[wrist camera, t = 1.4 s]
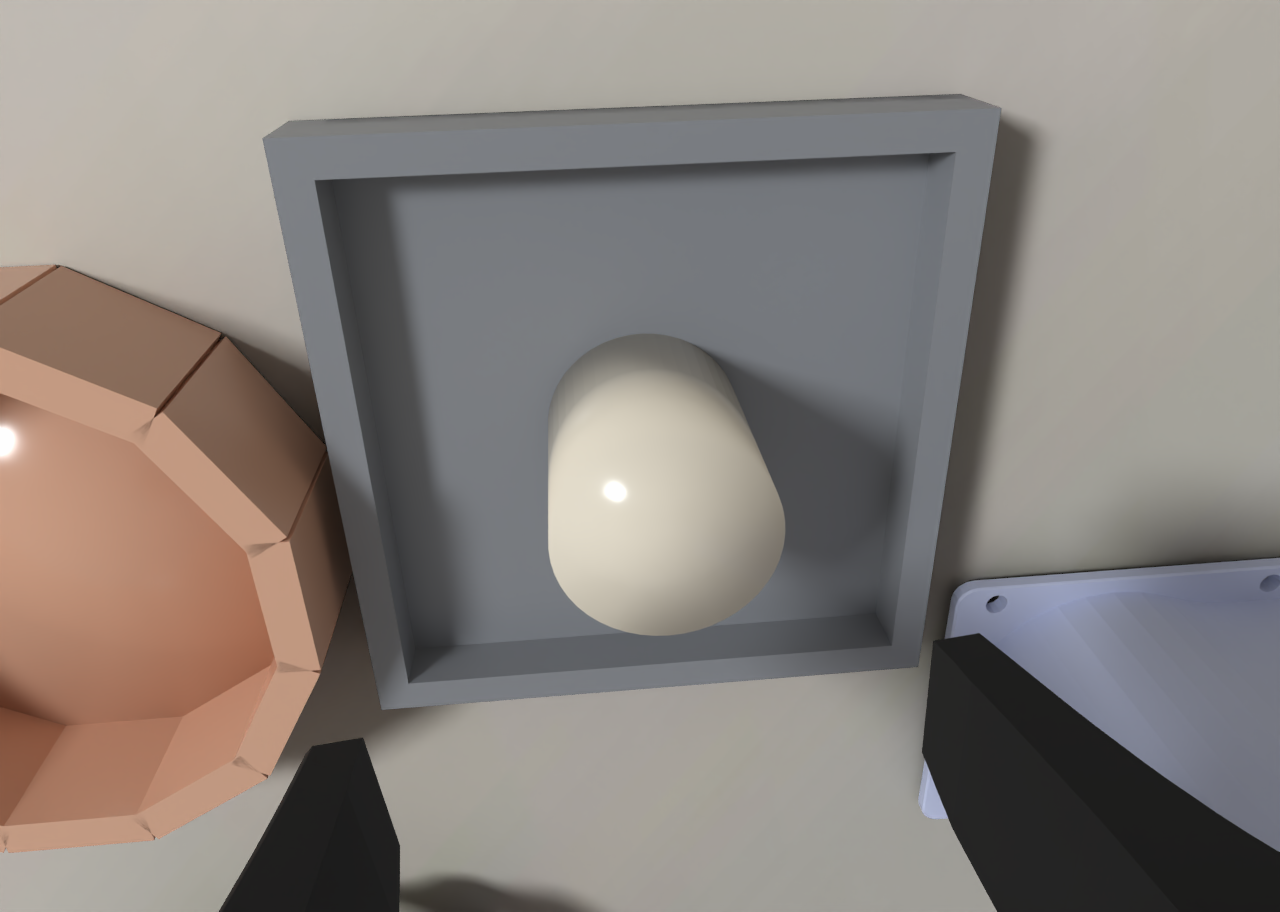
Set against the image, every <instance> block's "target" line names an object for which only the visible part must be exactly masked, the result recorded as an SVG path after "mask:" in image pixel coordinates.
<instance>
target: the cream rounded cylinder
mask: <svg viewBox="0 0 1280 912" xmlns="http://www.w3.org/2000/svg"><path fill="white" fill-rule="evenodd" d="M784 540H785V517H784V511H783V506H782V504H781V501H780V498H779V495H778V493H777V490H776V488H775V486H774V483H773V481H772V478H771V476H770V474H769V471H768V469H767V467H766V464H765V462H764V460H763V457H762V455H761V453H760V450H759V448H758V446H757V443H756V441H755V439H754V436H753V434H752V432H751V429H750V427H749V425H748V422H747V420H746V417H745V415H744V413H743V410H742V408H741V406H740V403H739V401H738V399H737V396H736V394H735V392H734V389H733V387H732V385H731V383H730V381H729V379H728V377H727V375H726V374H725V372H724V371H723V370H722V368H721V367H720V365H719V364H718V363H717V362H716V361H715V360H714V359H713V358H712V357H711V356H709V355H708V354H707V353H705V352H704V351H703V350H702V349H700V348H698V347H696V346H695V345H693V344H691V343H689V342H686V341H684V340H681V339H679V338H675V337H671V336H667V335H660V334H634V335H627V336H623V337H619V338H615V339H612V340H610V341H607V342H604V343H602V344H600V345H598V346H597V347H595V348H593V349H591V350H590V351H588V352H587V353H586V354H584V355H583V356H581V357H580V358H579V359H578V360H577V361H576V362H575V363H574V364H573V365H572V366H571V367H570V368H569V369H568V370H567V372H566V373H565V374H564V376H563V377H562V379H561V380H560V382H559V383H558V385H557V387H556V390H555V392H554V394H553V397H552V400H551V404H550V408H549V415H548V551H549V557H550V563H551V566H552V569H553V572H554V575H555V577H556V579H557V581H558V583H559V585H560V586H561V588H562V589H563V591H564V592H565V593H566V595H567V596H568V597H569V599H570V600H571V601H572V602H573V603H574V604H575V605H576V606H577V607H578V608H580V609H581V610H582V611H583V612H585V613H586V614H587V615H589V616H590V617H592V618H594V619H595V620H597V621H599V622H601V623H603V624H605V625H607V626H610V627H612V628H615V629H618V630H621V631H624V632H629V633H634V634H639V635H650V636H669V635H677V634H684V633H688V632H693V631H697V630H700V629H703V628H706V627H709V626H712V625H714V624H716V623H718V622H720V621H722V620H725V619H726V618H728V617H730V616H731V615H733V614H735V613H736V612H738V611H739V610H740V609H742V608H743V607H744V606H746V605H747V604H748V603H749V602H750V601H751V600H752V599H753V598H754V597H755V596H756V595H758V594H759V592H760V591H761V590H762V589H763V587H764V586H765V585H766V584H767V582H768V581H769V579H770V578H771V576H772V574H773V573H774V571H775V569H776V567H777V564H778V562H779V560H780V557H781V554H782V550H783V547H784Z"/></svg>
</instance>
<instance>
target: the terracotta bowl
mask: <svg viewBox="0 0 1280 912" xmlns="http://www.w3.org/2000/svg"><path fill="white" fill-rule="evenodd" d="M220 335H221V333H220V332H218V331H215V330H213V329H210V328H208V327H206V326H203V325H201V324H199V323H196V322H194V321H191V320H189V319H187V318H184V317H182V316H179V315H177V314H175V313H172V312H170V311H168V310H165V309H163V308H160V307H158V306H156V305H153V304H151V303H149V302H146V301H144V300H141V299H139V298H137V297H134V296H132V295H130V294H127V293H125V292H122V291H120V290H118V289H115V288H113V287H110V286H108V285H106V284H103V283H101V282H99V281H96V280H94V279H91V278H89V277H87V276H84V275H82V274H80V273H77V272H75V271H72V270H70V269H68V268H65V267H63V266H60V267H59V268H56V265H40V266H20V267H0V852H3V853H4V851H5V849H6V848H7V850H8V852H9V853H14V852H26V851H37V850H48V849H60V848H71V847H83V846H94V845H106V844H117V843H128V842H140V841H151V840H155V837H157V838H158V839H160V838H161V837H163V836H165V835H167V834H169V833H170V832H172V831H174V830H176V829H177V828H179V827H181V826H183V825H185V824H186V823H188V822H190V821H192V820H194V819H195V818H197V817H199V816H201V815H203V814H204V813H206V812H208V811H210V810H212V809H213V808H215V807H217V806H219V805H221V804H222V803H224V802H226V801H228V800H230V799H231V798H233V797H235V796H237V795H239V794H240V793H242V792H244V791H246V790H248V789H249V788H251V787H253V786H255V785H257V784H258V783H260V782H262V781H264V780H266V779H267V778H268V775H271V773H272V771H273V769H274V767H275V765H276V763H277V761H278V759H279V757H280V755H281V753H282V751H283V749H284V747H285V745H286V743H287V741H288V739H289V737H290V735H291V732H292V730H293V728H294V726H295V724H296V722H297V720H298V718H299V716H300V714H301V712H302V710H303V708H304V706H305V704H306V702H307V700H308V698H309V696H310V694H311V692H312V690H313V688H314V686H315V684H316V682H317V680H318V678H319V675H320V673H321V670H322V667H323V664H324V660H325V657H326V654H327V651H328V648H329V644H330V641H331V638H332V635H333V632H334V628H335V625H336V622H337V619H338V616H339V613H340V609H341V606H342V603H343V600H344V597H345V593H346V590H347V587H348V584H349V581H350V577H351V574H352V566H351V561H350V556H349V551H348V547H347V542H346V537H345V532H344V527H343V523H342V518H341V513H340V508H339V503H338V499H337V494H336V489H335V484H334V479H333V475H332V470H331V465H330V460H329V455H328V451H326V452H325V450H326V448H327V447H326V446H325V445H324V444H323V442H322V441H321V440H320V439H319V438H318V437H317V436H316V435H315V434H314V433H313V431H312V430H311V429H310V428H309V427H308V426H307V425H306V424H305V423H304V422H303V420H302V419H301V418H300V417H299V416H298V415H297V414H296V413H295V412H294V411H293V409H292V408H291V407H290V406H289V405H288V404H287V403H286V402H285V401H284V400H283V398H282V397H281V396H280V395H279V394H278V393H277V392H276V391H275V390H274V389H273V388H272V386H271V385H270V384H269V383H268V382H267V381H266V380H265V379H264V378H263V377H262V375H261V374H260V373H259V372H258V371H257V370H256V369H255V368H254V367H253V366H252V364H251V363H250V362H249V361H248V360H247V359H246V358H245V357H244V356H243V355H242V353H241V352H240V351H239V350H238V349H237V348H236V347H235V346H234V345H233V344H232V342H231V341H230V340H229V339H228V338H227V337H224V338H223V339H221V340H220V341H219V338H220Z"/></svg>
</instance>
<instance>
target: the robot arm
mask: <svg viewBox="0 0 1280 912" xmlns="http://www.w3.org/2000/svg"><path fill="white" fill-rule="evenodd" d="M1267 576H1268V577H1267ZM1266 577H1267V578H1266ZM1265 578H1266V579H1265ZM1263 579H1265V580H1263ZM998 595H999V597H998V599H996V600H995V601H994V602H991V603H987V602H988V600H989V599H991V598H992V597H994V596H998ZM922 753H923V756H924V758H925V762H924V768H923V774H922V780H921V786H920V792H919V799H918V801H919V805H920V808H921V810H922V812H923V814H924V815H925V816H926V817H928V818H931V819H944V818H948V819H949V821H950V823H951V826H952V828H953V830H954V832H955V834H956V836H957V838H958V840H959V841H960V843H961V845H962V847H963V849H964V851H965V853H966V855H967V856H968V858H969V860H970V862H971V864H972V866H973V868H974V870H975V871H976V873H977V875H978V877H979V879H980V881H981V883H982V884H983V886H984V888H985V890H986V892H987V894H988V895H989V897H990V899H991V901H992V903H993V905H994V906H995V908H996V910H997V912H1280V558H1270V559H1257V560H1244V561H1230V562H1217V563H1203V564H1190V565H1176V566H1163V567H1149V568H1136V569H1123V570H1109V571H1096V572H1082V573H1069V574H1055V575H1042V576H1029V577H1015V578H1002V579H988V580H975V581H970V582H966V583H964V584H962V585H961V586H959V587H958V588H957V589H956V590H955V591H954V593H953V595H952V598H951V603H950V609H949V615H948V621H947V627H946V633H945V639H941V640H935V641H933V650H932V660H931V670H930V679H929V689H928V699H927V709H926V718H925V728H924V738H923V748H922ZM399 896H400V845H399V842H398V839H397V836H396V833H395V830H394V827H393V824H392V821H391V818H390V815H389V812H388V810H387V807H386V804H385V801H384V798H383V795H382V792H381V789H380V786H379V783H378V780H377V777H376V774H375V771H374V769H373V766H372V763H371V760H370V757H369V754H368V751H367V748H366V745H365V742H364V739H363V738H358V739H353V740H347V741H341V742H335V743H329V744H323V745H317V746H312V747H311V749H310V750H309V751H308V752H307V753H306V754H305V756H304V758H303V760H302V762H301V764H300V766H299V768H298V770H297V772H296V774H295V776H294V778H293V780H292V782H291V783H290V785H289V787H288V789H287V791H286V793H285V795H284V797H283V799H282V801H281V803H280V805H279V806H278V808H277V810H276V812H275V814H274V816H273V818H272V819H271V821H270V823H269V825H268V827H267V829H266V830H265V832H264V834H263V836H262V838H261V839H260V841H259V843H258V845H257V847H256V849H255V850H254V852H253V854H252V856H251V858H250V859H249V861H248V863H247V864H246V866H245V868H244V869H243V871H242V873H241V875H240V876H239V878H238V880H237V881H236V883H235V885H234V887H233V888H232V890H231V892H230V893H229V895H228V897H227V898H226V900H225V902H224V904H223V905H222V907H221V909H220V910H219V912H399Z"/></svg>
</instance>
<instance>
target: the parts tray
mask: <svg viewBox="0 0 1280 912" xmlns="http://www.w3.org/2000/svg"><path fill="white" fill-rule="evenodd" d="M1000 114H1001V108H1000V107H997V106H994V105H991V104H988V103H985V102H982V101H980V100H977V99H974V98H971V97H968V96H965V95H962V94H949V95H924V96H899V97H874V98H849V99H824V100H799V101H774V102H749V103H724V104H699V105H674V106H649V107H624V108H599V109H574V110H549V111H524V112H499V113H474V114H449V115H424V116H399V117H374V118H349V119H324V120H299V121H288V122H287V123H285V124H284V125H282V126H281V127H279V128H278V129H276V130H275V131H273V132H271V133H270V134H268V135H267V136H265V137H264V138H263V143H264V148H265V153H266V157H267V162H268V167H269V172H270V177H271V182H272V186H273V191H274V196H275V201H276V206H277V210H278V215H279V220H280V225H281V230H282V234H283V239H284V244H285V249H286V254H287V258H288V263H289V268H290V273H291V278H292V282H293V287H294V292H295V297H296V302H297V306H298V311H299V316H300V321H301V326H302V330H303V335H304V340H305V345H306V350H307V354H308V359H309V364H310V369H311V374H312V378H313V383H314V388H315V393H316V398H317V402H318V407H319V412H320V417H321V422H322V427H323V431H324V436H325V441H326V446H327V451H328V455H329V460H330V465H331V470H332V475H333V479H334V484H335V489H336V494H337V499H338V503H339V508H340V513H341V518H342V523H343V527H344V532H345V537H346V542H347V547H348V551H349V556H350V561H351V566H352V571H353V575H354V580H355V585H356V590H357V595H358V599H359V604H360V609H361V614H362V619H363V623H364V628H365V633H366V638H367V643H368V647H369V652H370V657H371V662H372V667H373V672H374V676H375V681H376V686H377V691H378V696H379V700H380V705H381V710H387V709H399V708H412V707H424V706H436V705H449V704H461V703H474V702H486V701H499V700H511V699H524V698H536V697H549V696H561V695H574V694H586V693H599V692H611V691H623V690H636V689H648V688H661V687H673V686H686V685H698V684H711V683H723V682H736V681H748V680H761V679H773V678H786V677H798V676H811V675H823V674H835V673H848V672H860V671H873V670H885V669H898V668H910V667H918V664H919V658H920V651H921V644H922V637H923V631H924V624H925V617H926V611H927V604H928V597H929V590H930V584H931V577H932V570H933V564H934V557H935V550H936V543H937V537H938V530H939V523H940V517H941V510H942V503H943V496H944V490H945V483H946V476H947V470H948V463H949V456H950V449H951V443H952V436H953V429H954V423H955V416H956V409H957V402H958V396H959V389H960V382H961V376H962V369H963V362H964V355H965V349H966V342H967V335H968V329H969V322H970V315H971V308H972V302H973V295H974V288H975V282H976V275H977V268H978V261H979V255H980V248H981V241H982V235H983V228H984V221H985V214H986V208H987V201H988V194H989V188H990V181H991V174H992V167H993V161H994V154H995V147H996V141H997V134H998V127H999V120H1000ZM634 334H660V335H667V336H671V337H675V338H679V339H681V340H684V341H686V342H689V343H691V344H693V345H695V346H696V347H698V348H700V349H702V350H703V351H704V352H705V353H707V354H708V355H709V356H711V357H712V358H713V359H714V360H715V361H716V362H717V363H718V364H719V365H720V367H721V368H722V370H723V371H724V372H725V374H726V375H727V377H728V379H729V381H730V383H731V385H732V387H733V389H734V392H735V394H736V396H737V399H738V401H739V403H740V406H741V408H742V410H743V413H744V415H745V417H746V420H747V422H748V425H749V427H750V429H751V432H752V434H753V436H754V439H755V441H756V443H757V446H758V448H759V450H760V453H761V455H762V457H763V460H764V462H765V464H766V467H767V469H768V471H769V474H770V476H771V478H772V481H773V483H774V486H775V488H776V490H777V493H778V495H779V498H780V501H781V504H782V506H783V511H784V517H785V540H784V547H783V550H782V554H781V557H780V560H779V562H778V564H777V567H776V569H775V571H774V573H773V574H772V576H771V578H770V579H769V581H768V582H767V584H766V585H765V586H764V587H763V589H762V590H761V591H760V592H759V594H758V595H756V596H755V597H754V598H753V599H752V600H751V601H750V602H749V603H748V604H747V605H746V606H744V607H743V608H742V609H740V610H739V611H738V612H736V613H735V614H733V615H731V616H730V617H728V618H726V619H725V620H722V621H720V622H718V623H716V624H714V625H712V626H709V627H706V628H703V629H700V630H697V631H693V632H688V633H684V634H677V635H669V636H650V635H639V634H634V633H629V632H624V631H621V630H618V629H615V628H612V627H610V626H607V625H605V624H603V623H601V622H599V621H597V620H595V619H594V618H592V617H590V616H589V615H587V614H586V613H585V612H583V611H582V610H581V609H580V608H578V607H577V606H576V605H575V604H574V603H573V602H572V601H571V600H570V599H569V597H568V596H567V595H566V593H565V592H564V591H563V589H562V588H561V586H560V585H559V583H558V581H557V579H556V577H555V575H554V572H553V569H552V566H551V563H550V557H549V551H548V415H549V408H550V404H551V400H552V397H553V394H554V392H555V390H556V387H557V385H558V383H559V382H560V380H561V379H562V377H563V376H564V374H565V373H566V372H567V370H568V369H569V368H570V367H571V366H572V365H573V364H574V363H575V362H576V361H577V360H578V359H579V358H580V357H581V356H583V355H584V354H586V353H587V352H588V351H590V350H591V349H593V348H595V347H597V346H598V345H600V344H602V343H604V342H607V341H610V340H612V339H615V338H619V337H623V336H627V335H634Z"/></svg>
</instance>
